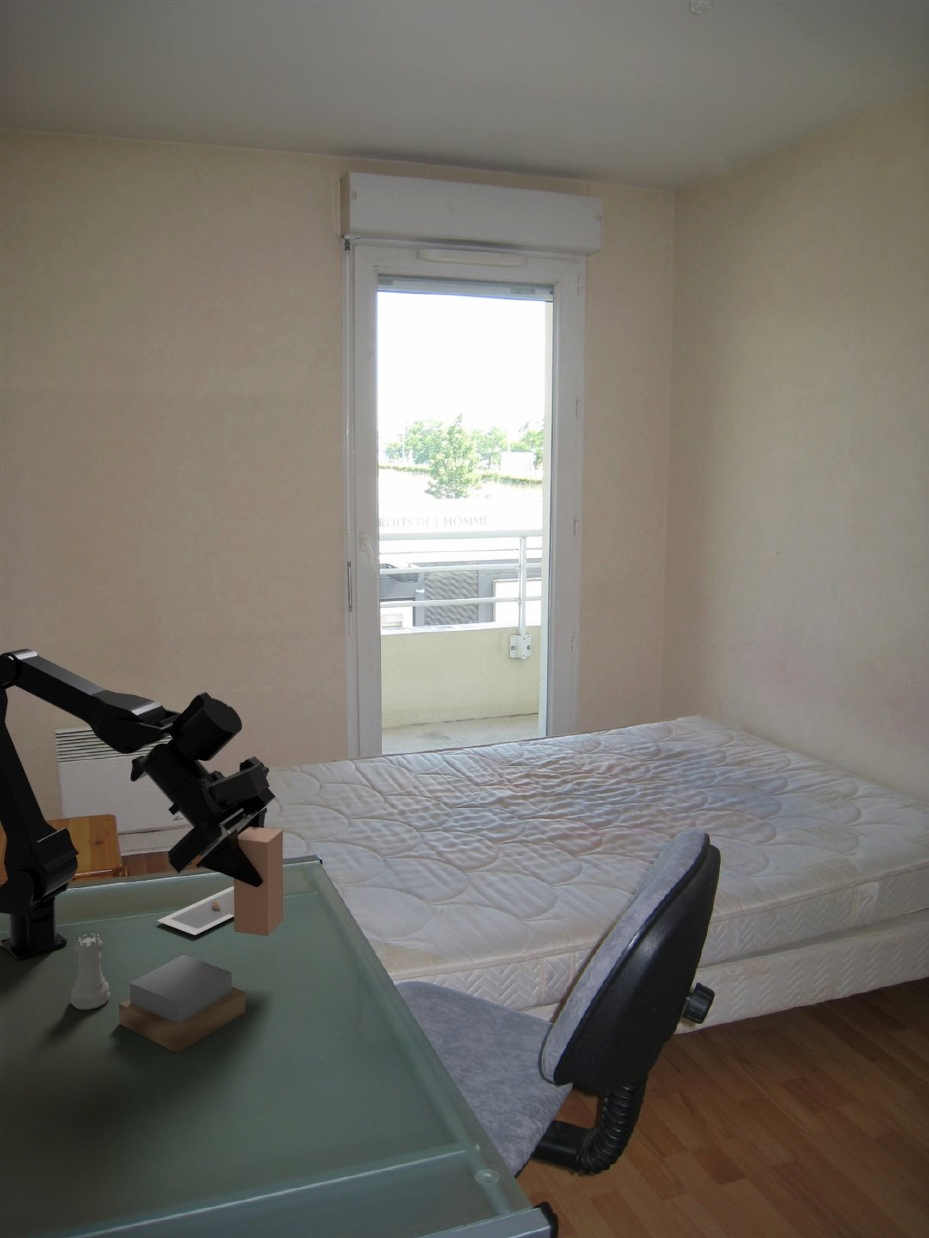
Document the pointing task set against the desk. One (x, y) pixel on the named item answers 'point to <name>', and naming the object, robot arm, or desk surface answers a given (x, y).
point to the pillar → (264, 903)
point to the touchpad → (203, 913)
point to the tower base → (187, 1031)
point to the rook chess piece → (89, 975)
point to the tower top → (180, 988)
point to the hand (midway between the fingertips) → (268, 877)
